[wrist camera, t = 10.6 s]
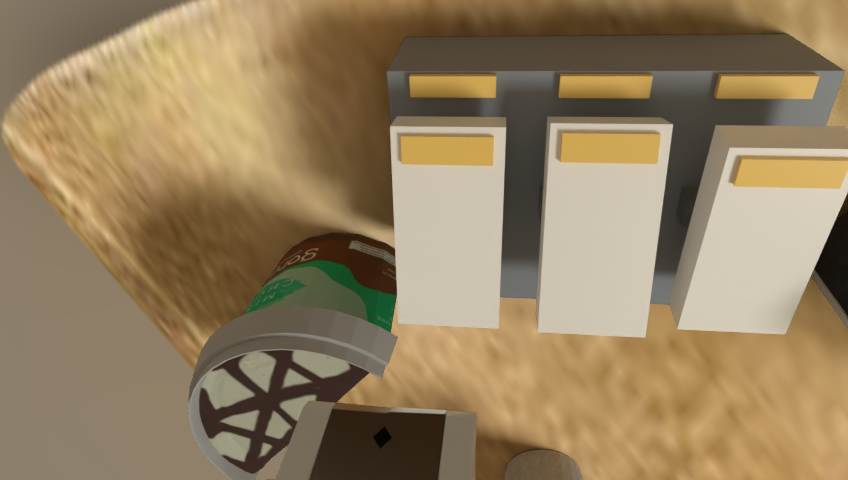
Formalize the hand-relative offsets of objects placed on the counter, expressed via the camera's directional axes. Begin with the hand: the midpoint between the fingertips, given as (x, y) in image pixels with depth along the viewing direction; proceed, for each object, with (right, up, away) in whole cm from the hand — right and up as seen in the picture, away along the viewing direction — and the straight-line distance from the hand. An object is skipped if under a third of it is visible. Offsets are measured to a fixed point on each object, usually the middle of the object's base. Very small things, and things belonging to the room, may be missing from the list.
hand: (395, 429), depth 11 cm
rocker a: (+12, +4, +11) cm, 17 cm away
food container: (-6, +2, +24) cm, 25 cm away
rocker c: (+2, +4, +13) cm, 13 cm away
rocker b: (+7, +4, +12) cm, 15 cm away
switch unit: (+8, +8, +18) cm, 21 cm away
